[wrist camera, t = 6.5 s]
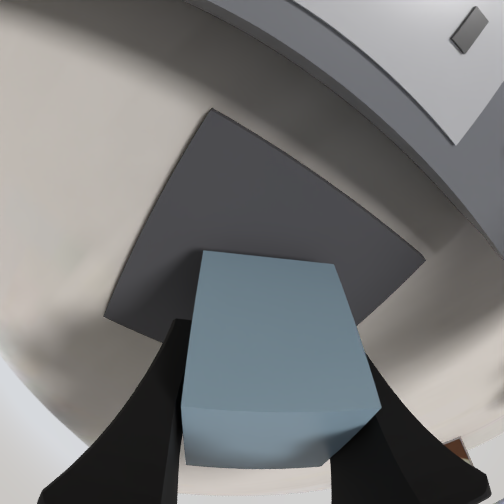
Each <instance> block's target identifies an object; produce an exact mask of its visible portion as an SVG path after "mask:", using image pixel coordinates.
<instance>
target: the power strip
mask: <svg viewBox="0 0 504 504" xmlns="http://www.w3.org/2000/svg"><path fill="white" fill-rule="evenodd" d="M182 1H185V2H187V3H189V4H191V5H193V6H195V7H197V8H200V9H202V10H204V11H206V12H208V13H210V14H212V15H214V16H216V17H218V18H220V19H221V20H223V21H225V22H227V23H229V24H231V25H233V26H234V27H236V28H238V29H240V30H242V31H243V32H245V33H247V34H249V35H250V36H252V37H254V38H255V39H257V40H259V41H260V42H262V43H264V44H265V45H267V46H269V47H270V48H272V49H273V50H275V51H277V52H278V53H280V54H281V55H283V56H284V57H286V58H287V59H289V60H290V61H292V62H293V63H295V64H296V65H298V66H299V67H301V68H302V69H304V70H305V71H306V72H308V73H309V74H311V75H312V76H313V77H315V78H316V79H318V80H319V81H320V82H322V83H323V84H324V85H326V86H327V87H328V88H330V89H331V90H332V91H334V92H335V93H336V94H338V95H339V96H340V97H341V98H343V99H344V100H345V101H346V102H348V103H349V104H350V105H351V106H353V107H354V108H355V109H356V110H358V111H359V112H360V113H361V114H362V115H363V116H365V117H366V118H367V119H368V120H369V121H371V122H372V123H373V124H374V125H375V126H376V127H377V128H379V129H380V130H381V131H382V132H383V133H384V134H385V135H386V136H387V137H389V138H390V139H391V140H392V141H393V142H394V143H395V144H396V145H397V146H398V147H399V148H400V149H401V150H402V151H403V152H404V153H405V154H407V155H408V156H409V157H410V158H411V159H412V160H413V161H414V162H415V163H416V164H417V165H418V166H419V167H420V168H421V169H422V170H423V172H424V173H425V174H426V175H427V176H428V177H429V178H430V179H431V180H432V181H433V182H434V183H435V184H436V185H437V186H438V187H439V189H440V190H441V191H442V192H443V193H444V194H445V195H446V196H447V197H448V199H449V200H450V201H451V202H452V203H453V204H454V205H455V207H456V208H457V209H458V210H459V211H460V212H461V213H462V214H463V215H464V216H465V217H466V218H467V219H468V220H469V221H470V222H471V223H472V224H473V225H474V226H475V227H476V228H477V229H478V230H479V232H480V233H481V234H482V235H483V236H484V237H485V238H486V240H487V241H488V242H489V244H490V245H491V246H492V248H493V249H494V250H495V251H496V252H497V254H498V255H499V256H500V257H501V258H502V259H503V260H504V0H182Z"/></svg>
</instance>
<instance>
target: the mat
mask: <svg viewBox="0 0 504 504" xmlns="http://www.w3.org/2000/svg"><path fill="white" fill-rule="evenodd" d="M203 250H205V251H215V252H224V253H233V254H243V255H252V256H261V257H271V258H280V259H289V260H299V261H308V262H318V263H327V264H334V266H335V269H336V271H337V274H338V277H339V279H340V282H341V285H342V287H343V290H344V293H345V296H346V298H347V301H348V304H349V307H350V310H351V313H352V316H353V318H354V321H355V324H356V326H357V325H358V324H359V323H360V322H362V321H363V320H364V319H365V318H366V317H367V316H368V315H369V314H371V313H372V312H373V311H374V310H375V309H376V308H377V307H378V306H379V305H381V304H382V303H383V302H384V301H385V300H386V299H387V298H388V297H389V296H390V295H391V294H392V293H393V292H394V291H396V290H397V289H398V288H399V287H400V286H401V285H402V284H403V283H404V282H405V281H406V280H407V279H408V278H409V277H410V276H411V275H412V274H413V273H414V272H415V271H416V270H417V269H418V268H419V267H420V266H421V265H422V264H423V263H424V262H425V261H426V260H425V258H424V257H423V255H422V254H421V253H419V252H418V251H417V250H416V249H415V248H414V247H412V246H411V245H410V244H409V243H407V242H406V241H405V240H404V239H403V238H401V237H400V236H399V235H398V234H396V233H395V232H394V231H393V230H392V229H390V228H389V227H388V226H386V225H385V224H384V223H383V222H381V221H380V220H379V219H378V218H376V217H375V216H374V215H372V214H371V213H370V212H369V211H367V210H366V209H365V208H363V207H362V206H361V205H359V204H358V203H357V202H355V201H354V200H353V199H351V198H350V197H349V196H347V195H346V194H344V193H343V192H342V191H340V190H339V189H338V188H336V187H335V186H333V185H332V184H331V183H329V182H328V181H326V180H325V179H323V178H322V177H321V176H319V175H318V174H316V173H315V172H313V171H312V170H311V169H309V168H308V167H306V166H305V165H303V164H302V163H300V162H299V161H297V160H296V159H294V158H293V157H291V156H290V155H288V154H287V153H285V152H284V151H282V150H281V149H279V148H277V147H276V146H274V145H273V144H271V143H270V142H268V141H266V140H265V139H263V138H262V137H260V136H258V135H257V134H255V133H254V132H252V131H250V130H249V129H247V128H245V127H244V126H242V125H240V124H239V123H237V122H235V121H234V120H232V119H230V118H229V117H227V116H225V115H223V114H222V113H220V112H218V111H216V110H215V109H213V108H211V110H210V112H209V113H208V115H207V116H206V118H205V119H204V121H203V123H202V124H201V126H200V127H199V129H198V131H197V132H196V134H195V136H194V137H193V139H192V141H191V142H190V144H189V146H188V147H187V149H186V151H185V152H184V154H183V156H182V158H181V159H180V161H179V163H178V165H177V166H176V168H175V170H174V172H173V173H172V175H171V177H170V179H169V181H168V182H167V184H166V186H165V188H164V190H163V192H162V193H161V195H160V197H159V199H158V201H157V203H156V205H155V207H154V208H153V210H152V212H151V214H150V216H149V218H148V220H147V222H146V224H145V226H144V228H143V230H142V232H141V234H140V236H139V238H138V240H137V242H136V244H135V246H134V248H133V251H132V253H131V255H130V257H129V259H128V261H127V263H126V266H125V268H124V270H123V272H122V274H121V276H120V279H119V281H118V283H117V285H116V288H115V290H114V292H113V295H112V297H111V299H110V302H109V304H108V306H107V309H106V311H105V314H104V316H103V317H106V318H108V319H110V320H112V321H114V322H116V323H118V324H120V325H123V326H125V327H127V328H129V329H132V330H134V331H136V332H138V333H141V334H143V335H145V336H148V337H150V338H152V339H155V340H157V341H159V342H162V343H163V342H164V340H165V338H166V336H167V333H168V331H169V329H170V326H171V324H172V321H173V320H174V319H176V318H178V319H186V320H192V319H193V312H194V305H195V299H196V292H197V286H198V280H199V274H200V268H201V262H202V256H203Z"/></svg>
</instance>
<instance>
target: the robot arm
mask: <svg viewBox="0 0 504 504" xmlns="http://www.w3.org/2000/svg"><path fill="white" fill-rule="evenodd" d="M191 325H192V320H186V319H178V318H176V319H174V320H173V321H172V324H171V326H170V329H169V331H168V333H167V336H166V338H165V340H164V342H163V344H162V346H161V348H160V350H159V352H158V353H157V355H156V357H155V359H154V360H153V362H152V364H151V366H150V367H149V369H148V371H147V373H146V374H145V376H144V377H143V379H142V380H141V382H140V383H139V385H138V387H137V388H136V390H135V391H134V393H133V394H132V396H131V397H130V399H129V400H128V401H127V403H126V404H125V405H124V407H123V408H122V410H121V411H120V412H119V413H118V415H117V416H116V417H115V419H114V420H113V421H112V422H111V424H110V425H109V426H108V427H107V428H106V429H105V431H104V432H103V433H102V434H101V435H100V436H99V438H98V439H97V440H96V441H95V442H94V443H93V444H92V445H91V446H90V447H89V448H88V449H87V450H86V451H85V452H84V453H83V455H81V457H79V459H77V460H76V461H75V462H74V463H73V464H72V465H71V466H70V467H69V468H68V469H67V470H66V471H65V472H64V473H62V474H61V475H60V476H59V477H57V478H56V479H55V480H54V481H53V482H52V483H50V484H49V485H48V486H47V487H46V488H44V489H43V490H42V492H41V494H40V497H39V499H38V502H37V504H177V491H178V471H179V456H180V447H181V440H182V435H183V426H182V413H181V402H182V393H183V385H184V377H185V369H186V361H187V354H188V347H189V339H190V332H191ZM365 354H366V353H365ZM366 358H367V361H368V364H369V367H370V370H371V373H372V377H373V380H374V383H375V387H376V390H377V393H378V397H379V400H380V404H381V407H382V408H381V409H380V410H379V411H378V412H377V413H376V414H375V415H374V416H373V417H372V418H371V419H370V420H369V421H368V422H367V423H366V425H365V426H364V427H363V428H362V429H361V430H360V431H359V432H358V433H357V434H356V435H354V436H353V437H352V438H351V439H350V440H349V441H348V442H347V443H346V444H345V445H344V446H343V447H342V448H341V449H340V450H339V451H338V452H337V453H335V454H334V455H333V456H332V457H331V458H330V464H331V487H332V504H478V503H480V502H482V501H484V500H486V499H487V498H489V497H490V496H491V490H490V486H489V483H488V479H487V476H486V474H484V473H483V472H481V471H480V470H478V469H477V468H475V467H473V466H472V465H470V464H469V463H467V462H465V461H464V460H463V459H461V458H460V457H459V456H457V455H456V454H455V453H453V452H452V451H451V450H449V449H448V448H447V447H446V446H445V445H443V444H442V443H441V442H440V441H439V440H438V439H437V438H436V437H434V436H433V435H432V434H431V433H430V432H429V431H428V430H427V429H426V428H425V427H424V426H423V425H422V424H421V423H420V422H419V421H418V420H417V419H416V418H415V416H414V415H413V414H412V413H411V412H410V411H409V410H408V409H407V408H406V406H405V405H404V404H403V403H402V402H401V400H400V399H399V398H398V397H397V395H396V394H395V393H394V392H393V390H392V389H391V388H390V386H389V385H388V384H387V382H386V381H385V380H384V378H383V377H382V375H381V374H380V373H379V371H378V370H377V369H376V367H375V366H374V364H373V363H372V361H371V360H370V359H369V357H368V356H367V354H366ZM494 504H504V498H503V499H501V500H499V501H498V502H496V503H494Z"/></svg>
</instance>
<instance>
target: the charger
mask: <svg viewBox="0 0 504 504" xmlns="http://www.w3.org/2000/svg"><path fill="white" fill-rule="evenodd" d="M381 408H382V407H381V404H380V400H379V397H378V393H377V390H376V387H375V383H374V380H373V377H372V373H371V370H370V367H369V364H368V361H367V358H366V354H365V351H364V348H363V345H362V342H361V339H360V336H359V333H358V330H357V327H356V324H355V321H354V318H353V316H352V313H351V310H350V307H349V304H348V301H347V298H346V296H345V293H344V290H343V287H342V285H341V282H340V279H339V277H338V274H337V271H336V269H335V266H334V264H327V263H318V262H308V261H299V260H289V259H280V258H271V257H261V256H252V255H243V254H233V253H224V252H215V251H205V250H203V256H202V262H201V268H200V274H199V280H198V286H197V292H196V299H195V305H194V312H193V319H192V325H191V332H190V339H189V347H188V354H187V361H186V369H185V377H184V385H183V393H182V402H181V413H182V426H183V438H184V449H185V459H186V465H193V466H204V467H217V468H237V469H286V468H306V467H319V466H322V465H323V464H324V463H325V462H326V461H328V460H329V459H330V458H331V457H332V456H333V455H334V454H335V453H337V452H338V451H339V450H340V449H341V448H342V447H343V446H344V445H345V444H346V443H347V442H348V441H349V440H350V439H351V438H352V437H353V436H354V435H356V434H357V433H358V432H359V431H360V430H361V429H362V428H363V427H364V426H365V425H366V423H367V422H368V421H369V420H370V419H371V418H372V417H373V416H374V415H375V414H376V413H377V412H378V411H379V410H380V409H381Z"/></svg>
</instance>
